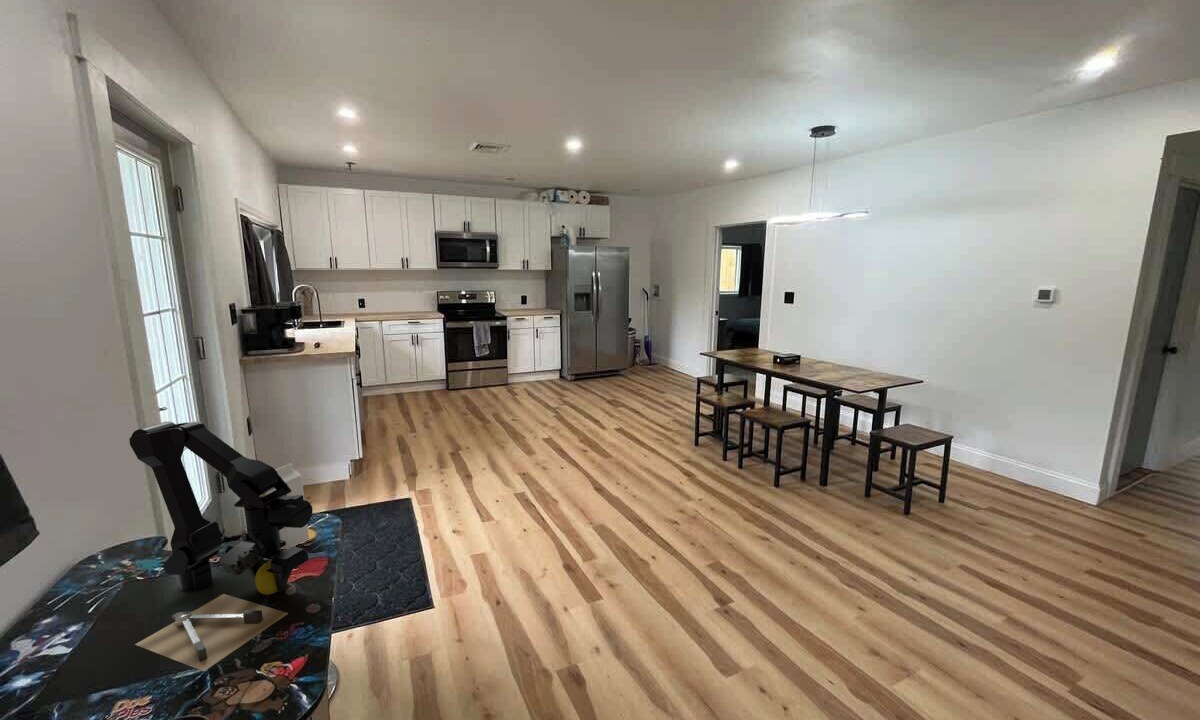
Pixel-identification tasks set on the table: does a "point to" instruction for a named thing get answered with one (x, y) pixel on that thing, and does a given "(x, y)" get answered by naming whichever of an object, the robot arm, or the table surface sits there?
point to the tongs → (188, 620)
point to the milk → (295, 484)
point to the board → (211, 633)
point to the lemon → (265, 580)
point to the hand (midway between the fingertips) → (271, 588)
